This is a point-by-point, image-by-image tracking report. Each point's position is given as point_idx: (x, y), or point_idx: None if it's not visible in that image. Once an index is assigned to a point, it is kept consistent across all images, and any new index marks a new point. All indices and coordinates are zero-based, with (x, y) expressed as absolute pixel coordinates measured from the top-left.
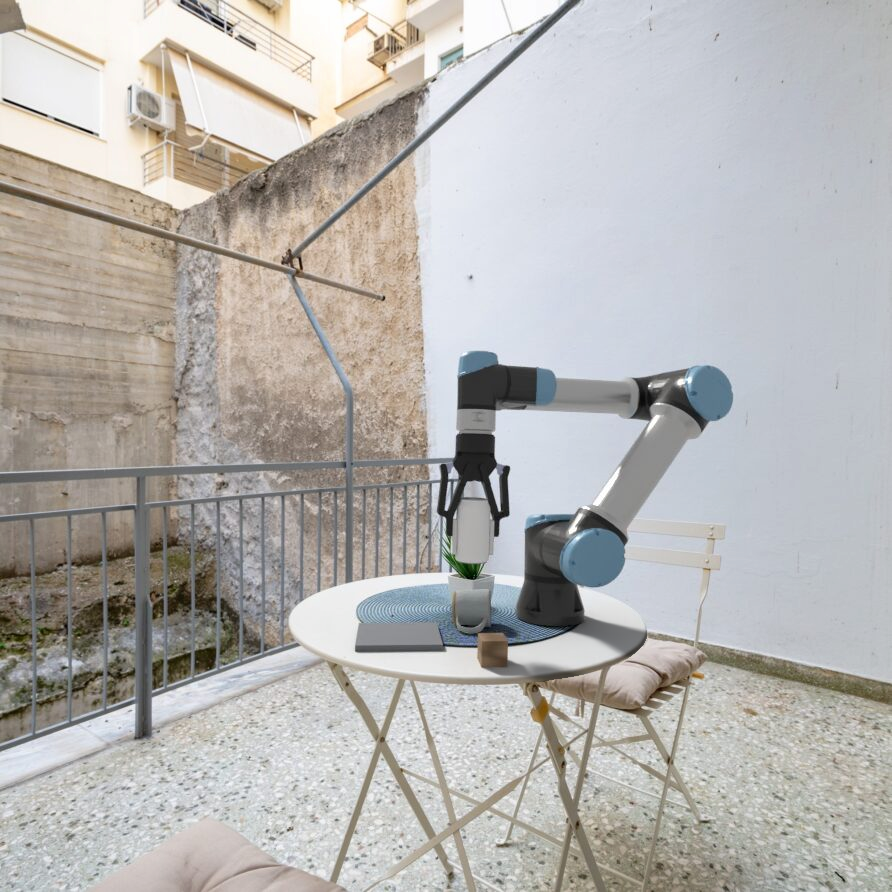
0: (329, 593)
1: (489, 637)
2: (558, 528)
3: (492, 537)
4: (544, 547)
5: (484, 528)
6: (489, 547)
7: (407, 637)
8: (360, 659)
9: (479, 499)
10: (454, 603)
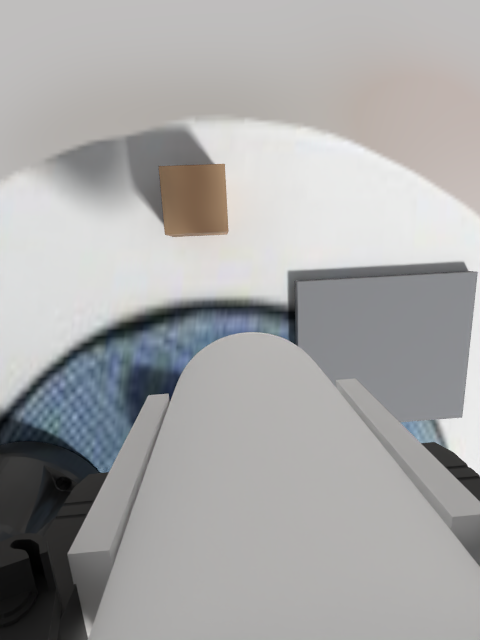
0: None
1: (202, 194)
2: None
3: (130, 448)
4: None
5: (186, 433)
6: (162, 417)
7: (368, 326)
8: (460, 223)
9: None
10: None
